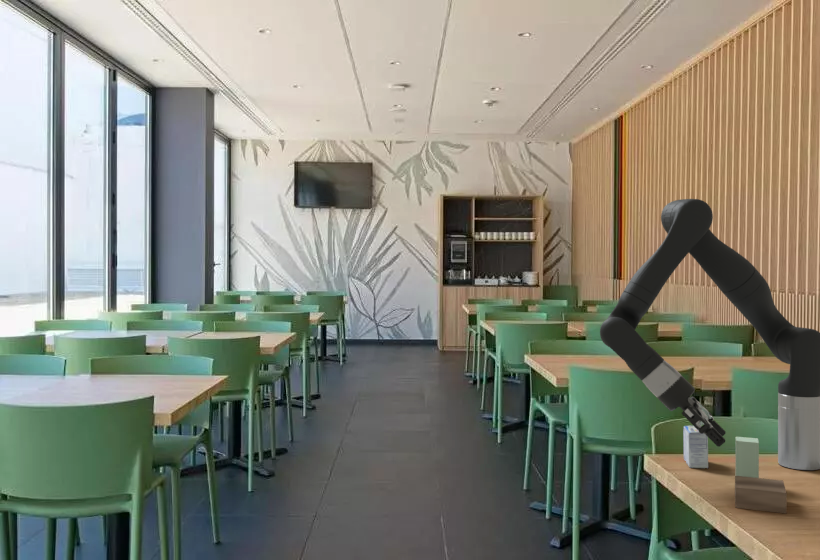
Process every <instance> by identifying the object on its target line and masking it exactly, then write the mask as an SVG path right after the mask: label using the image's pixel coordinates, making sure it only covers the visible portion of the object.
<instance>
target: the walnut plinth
mask: <svg viewBox="0 0 820 560" xmlns="http://www.w3.org/2000/svg"><path fill="white" fill-rule="evenodd" d="M734 501H735V502H734V503H735V505H734V506H735V508H738V509H745V510H746V509H747V510H753V511H761V512H762V511H763V512H769V513H770V512H771V513H778V514H779V513H781V514H787V490H786V486H785V483H784V479H783V480H782V479H773V478H771V479H770V478H765V477H764V478H763V477H762V478H761V477H759V478H754V477H744V476H736V475H734Z"/></svg>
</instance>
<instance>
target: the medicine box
mask: <svg viewBox="0 0 820 560" xmlns="http://www.w3.org/2000/svg"><path fill="white" fill-rule="evenodd" d="M682 431H683V432H682V433H683V434H682V435H683V447H682V448H683V460H684V461H686V462H685V463H686V465H687V466H688V467H689V469H705V468H707V469H708V468H709V441H708V440H709V437H708V436H707V435H706V434H705V435H704V434H701V433H700V432H699V431H698V430H697V429H696V428H695V427H694V426H693V425H684V426H683V430H682Z"/></svg>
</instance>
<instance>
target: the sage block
mask: <svg viewBox="0 0 820 560" xmlns="http://www.w3.org/2000/svg"><path fill="white" fill-rule="evenodd" d="M759 445H760V441H759V438H757V437H756V438H755V437H745V436H744V437H743V436H735V476H744V477H754V478H760V476H759V475H760V473H759V471H760V467H759V466H760V459H759V458H760V447H759Z"/></svg>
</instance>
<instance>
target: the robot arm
mask: <svg viewBox="0 0 820 560" xmlns="http://www.w3.org/2000/svg"><path fill="white" fill-rule="evenodd" d="M713 217H714V215H713V210H712V208H711V207H710V205H709V204H708V203H707V202H706V201H704V200H702V199H698V198H685V199H683V198H682V199H677V200H672V201H670V202H668V203H666V205H665V206H664V207H663V208H662V211H661V214H660V221H661V225H662V228H663V229H664V231H665V232H666V236H665V238H664V240H663V241H662V242H661V244H660V245H659V246H658V248H657V249H656V250H655V252H653V254H652V255H651V256H650V257H649V258H647V260H646V261H645V262H643V264H641V266H640V267H639V268H638V269H637V271H635V273H634V274H633V276H632V277H631V278H630V280H629V281H628V283H627V285H626V286H625V287H624V290H623V291H622V293H621V295H620V297H619V299H618V300H617V301H618V302H617V304H616V306H615V307H614V309H612V311H611V312H610V314H609V315H608V317H607V318H606V319H605V320H604V321H603V322H602V324H601V325H600V328H599V335H600V337H599V338H600V340H601V341H602V343H603V344H604V345H605V346H607V347H608V348H610V349H611V350H612V351H613V352H614V353H615V354H616V355H617V356H618V357H619V358H621V359H622V360H623V361H624V363H625V364H626V365H627V367H628V369H629V370H630V371H631V372H632V373H633V374H635V376H637V378H638V379H639V380H640V381H641V382H642V383H643V384H644V386H645V387H646V389H648V391H650V393H652V395H654V396H655V397H656V398H657V399H658V401H659V402H661V403H662V405H664V406H665V407H666V409H668V410H669V412H673V411H674V410H676V409H678V408H680V409H681V411H682V412H681V415H682V417H684V418H685V419H686V420H687V421H688V422H689V423H690V424H691V426H694V427H695V428H696V429H697V430H698V431H699V432H700V433H701V434H704V435H705V434H706V435H707V436H708V440H710V441H711V442H712V443H714V445H716V446H717V447H718V448H719V447H721V446H723V445H724V444H725V443H726V438H725V437H724V436H725V435H726V433H727V432H726V431H725V429H724V428H723V427H722V426H721V425H720V424H718V422H717V421H716V420H715V419H714V417H713V415H712V413H711V412H709V410H708V409H706V407H705V406H703V405H702V404H701V402H700V401H698V400H697V399H696V397H694V396H692V395H693V394H694V393H695V390H696V389H695V387H694V386H693V385H692V383H690V382H689V381H688V380H687V379H686V378H685V377H684V376H683V375H682V374H681V373H680V372H679V371H678V370H677V369H676V368H675V367H674V366H672V365H671V364H670V363H669V362H668V361H666V360H665V359H664V358H663V357H662V356H661V355H660V354H659V353H658V352H657V351H656V350H655V349H653V347H651V346H650V345H649V344H648V343H647V342H646V341H645V340H644V339H643V337H642V336H641V335H640V334H639V333H638V332H637V331H636V328H637V327H638V326H639V324H640V322H641V320H642V318H644V316H645V314H646V313H647V312H648V311H649V309H650V308H651V306H652V305H653V303H654V301H655V300H656V298H657V297H658V295H659V293H661V290H662V289H663V287H664V286H665V284H666V283H667V282H668V280H669V279H670V277H671V276H672V274H673V273H674V272H675V270H676V269H677V267H679V265H680V264H681V263H682V261H683V260H684V258H685V257H687V255H688V254H689V255H690V256H691V257H692V258H694V260H695V261H696V262H697V264H698V265H699V266H700V267H701V269H702V270H703V271H704V273H705V274H707V276H708V277H709V278H710V279H711V281H712V282H713V283H714V284H715V286H716V287H717V288H718V289H719V290H720V291H721V293H723V295H724V296H725V297H726V298H727V300H729V301H730V303H731V304H732V305H733V306H734V307H735V308H736V309H737V310H738V311H739V312H740V314H741V315H742V316H743V317H744V318H745V319H746V320H747V321H748V322H749V324H750V325H751V326H752V327H753V328H754V329H755V330H756V332H757V334H759V336H760V338H761V339H762V341H763V342H764V343H765V345H766V346H767V347H768V349H769V350H770V352H771V354H772V355H773V356H774V357H775V358H776V359H778V360H779V361H781V363H785V364H787V365H789V372H788V373H789V374H788V375H787V377H786V378H784V379H781V380H779V382H778V385H777V405H778V407H777V411H778V412H777V413H778V414H777V428H778V429H777V442H778V443H777V463H779V464H778V465H780V466H782V467H785V468H789V469H794V470H802V471H815V470H820V331H818V330H816V329H813V328H809V327H800V326H795V325H793V324H792V323H791V322H790V321H789V320H788V319H787V318H785V317H784V315H783V314H782V313H781V312H780V311H779V309H778V308H777V306H776V304H775V302H774V299H773V295H772V291H771V288H770V285H769V283H768V281H767V280H766V279H765V277H764V276H763V275H762V274H761V273H760V272H759V270H758V269H757V268H756V267H755V266H754V264H752V263H751V262H750V261H749V260H748V259H747V258H746V257H744V256H743V255H742V254H740V253H739V252H738V251H736V250H735V249H733V248H731V247H730V246H728V245H727V244H726V243H724V242H723V241H721V240H720V239H719V238H718V237H717V236H716V235H715V234H714V233H713V232H712V230H711V229H710V228H711V226H712V224H713V219H714V218H713Z"/></svg>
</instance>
